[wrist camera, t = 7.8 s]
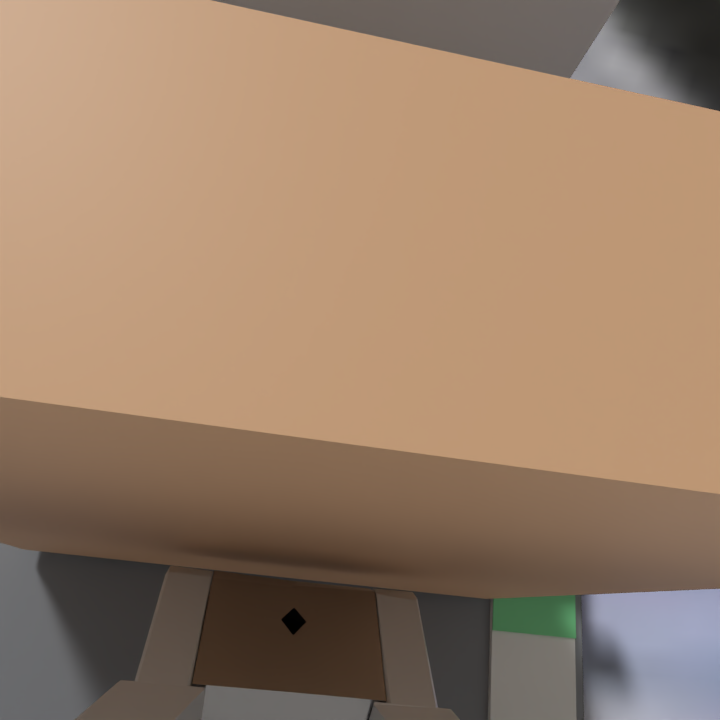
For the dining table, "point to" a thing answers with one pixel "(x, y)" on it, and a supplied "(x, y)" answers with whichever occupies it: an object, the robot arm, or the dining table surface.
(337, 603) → the robot arm
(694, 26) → the dining table surface
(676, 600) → the dining table surface
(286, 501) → the paddle
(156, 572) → the gauge board
